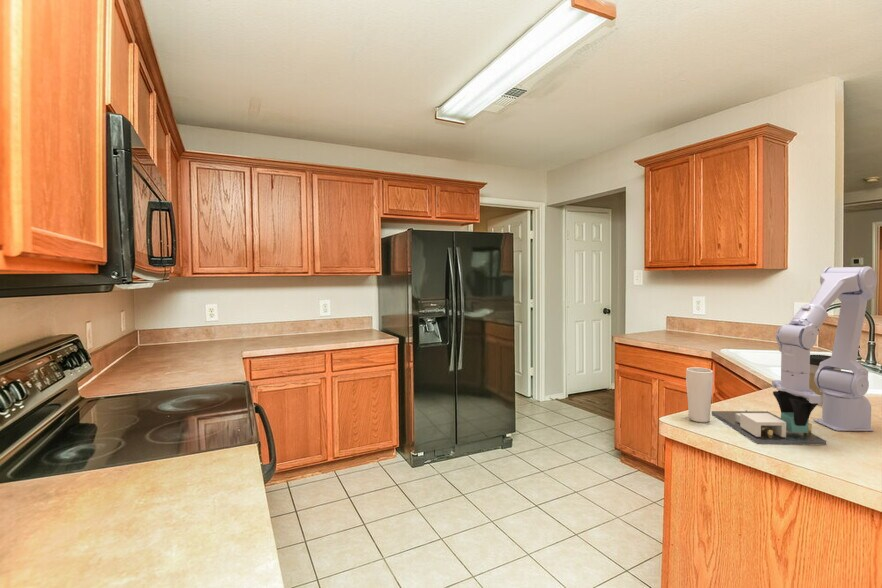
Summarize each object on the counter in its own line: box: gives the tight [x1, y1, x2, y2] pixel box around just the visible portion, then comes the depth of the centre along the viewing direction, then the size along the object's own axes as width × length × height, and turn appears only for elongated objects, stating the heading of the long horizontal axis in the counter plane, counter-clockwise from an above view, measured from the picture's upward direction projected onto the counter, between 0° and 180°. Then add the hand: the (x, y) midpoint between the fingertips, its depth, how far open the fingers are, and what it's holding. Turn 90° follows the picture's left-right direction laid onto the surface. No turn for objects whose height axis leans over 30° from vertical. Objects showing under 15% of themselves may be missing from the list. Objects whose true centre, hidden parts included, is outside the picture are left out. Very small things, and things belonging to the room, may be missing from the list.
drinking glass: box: [685, 366, 714, 424], centre depth 125 cm, size 7×7×15 cm
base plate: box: [711, 410, 827, 445], centre depth 118 cm, size 16×22×4 cm
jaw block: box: [780, 411, 810, 433], centre depth 111 cm, size 4×4×4 cm
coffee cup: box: [809, 354, 842, 407], centre depth 136 cm, size 10×10×15 cm
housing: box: [735, 413, 786, 437], centre depth 115 cm, size 7×12×4 cm, turn 174°
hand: (794, 422), depth 111 cm, fingers closed on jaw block, 4 cm apart
